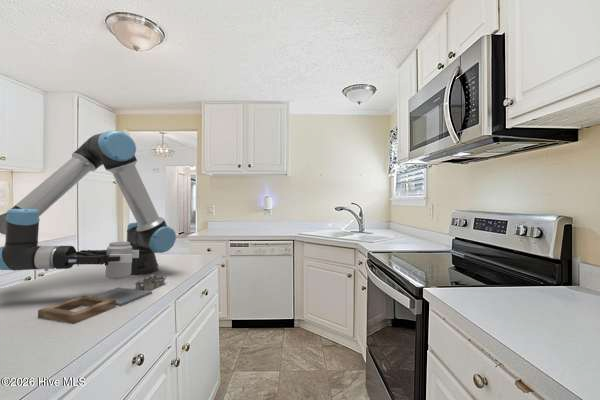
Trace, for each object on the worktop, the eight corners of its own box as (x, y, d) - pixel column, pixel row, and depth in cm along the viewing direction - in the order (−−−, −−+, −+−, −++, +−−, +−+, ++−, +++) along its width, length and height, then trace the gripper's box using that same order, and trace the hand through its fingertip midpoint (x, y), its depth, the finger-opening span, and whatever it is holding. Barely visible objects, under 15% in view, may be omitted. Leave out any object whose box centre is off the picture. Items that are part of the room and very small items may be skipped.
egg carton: (148, 292, 105) (148, 281, 105) (131, 290, 107) (131, 279, 107) (168, 284, 115) (168, 274, 115) (152, 282, 117) (152, 272, 117)
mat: (118, 289, 106) (118, 287, 106) (151, 293, 103) (151, 291, 103) (84, 301, 94) (84, 298, 94) (120, 306, 90) (120, 303, 90)
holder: (83, 302, 93) (83, 295, 93) (115, 306, 89) (115, 299, 89) (37, 317, 80) (38, 310, 80) (73, 323, 77) (73, 315, 77)
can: (118, 280, 93) (120, 244, 94) (99, 279, 95) (101, 243, 95) (136, 275, 101) (137, 241, 101) (118, 273, 102) (119, 240, 102)
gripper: (72, 262, 103) (142, 261, 109) (37, 276, 83) (125, 273, 89) (73, 241, 103) (143, 241, 109) (38, 251, 83) (126, 249, 90)
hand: (135, 256), depth 99 cm, fingers closed on can, 7 cm apart
